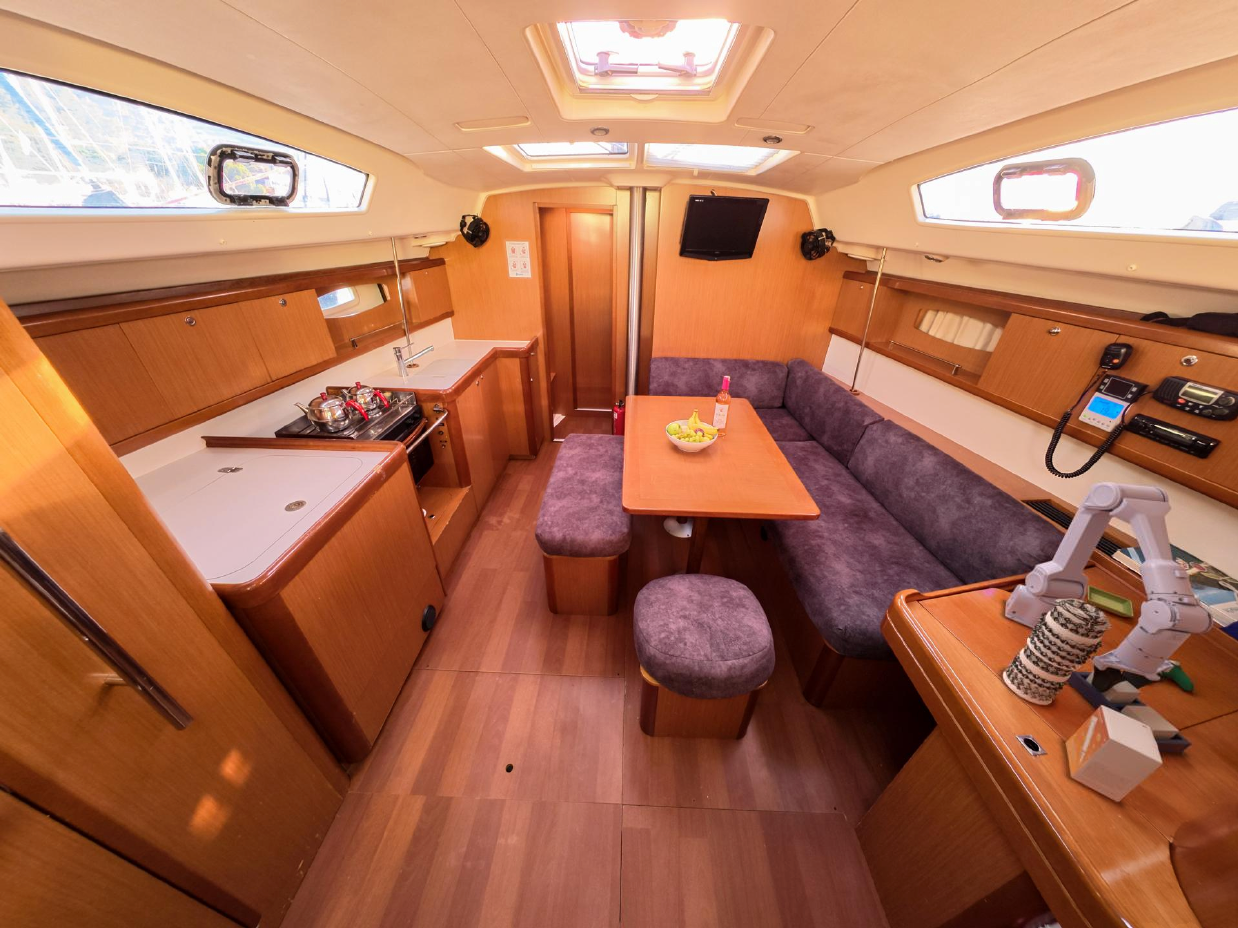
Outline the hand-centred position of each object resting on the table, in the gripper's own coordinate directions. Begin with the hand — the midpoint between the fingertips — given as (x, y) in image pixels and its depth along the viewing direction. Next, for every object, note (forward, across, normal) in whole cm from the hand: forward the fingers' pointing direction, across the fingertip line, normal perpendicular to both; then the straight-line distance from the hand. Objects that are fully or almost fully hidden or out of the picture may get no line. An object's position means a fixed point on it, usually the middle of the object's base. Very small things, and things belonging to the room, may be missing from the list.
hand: (1109, 688), depth 88 cm
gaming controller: (+3, +19, +6) cm, 20 cm away
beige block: (+2, 0, -7) cm, 8 cm away
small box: (+3, -18, -15) cm, 24 cm away
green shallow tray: (+3, +32, +28) cm, 43 cm away
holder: (+3, 0, -4) cm, 5 cm away
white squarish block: (+1, 0, 0) cm, 1 cm away
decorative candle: (+3, -15, +2) cm, 16 cm away
